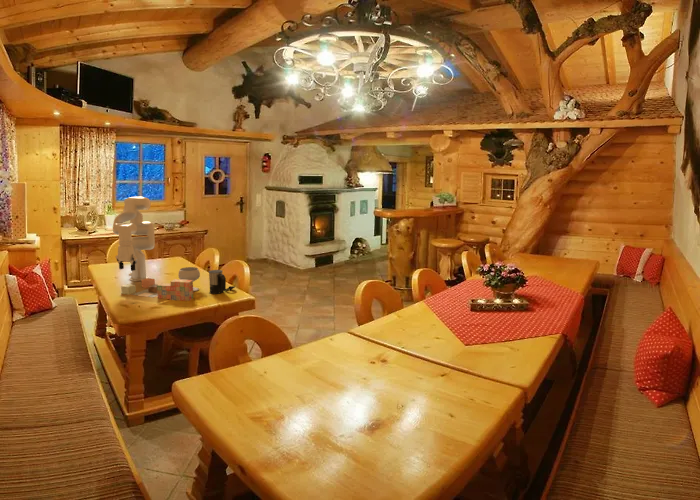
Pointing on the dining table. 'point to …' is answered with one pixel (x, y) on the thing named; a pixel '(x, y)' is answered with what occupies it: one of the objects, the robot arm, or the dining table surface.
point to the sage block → (128, 289)
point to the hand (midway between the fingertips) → (127, 269)
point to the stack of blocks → (176, 290)
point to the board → (145, 293)
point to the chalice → (189, 275)
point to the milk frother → (218, 282)
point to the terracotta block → (147, 282)
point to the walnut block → (152, 288)
